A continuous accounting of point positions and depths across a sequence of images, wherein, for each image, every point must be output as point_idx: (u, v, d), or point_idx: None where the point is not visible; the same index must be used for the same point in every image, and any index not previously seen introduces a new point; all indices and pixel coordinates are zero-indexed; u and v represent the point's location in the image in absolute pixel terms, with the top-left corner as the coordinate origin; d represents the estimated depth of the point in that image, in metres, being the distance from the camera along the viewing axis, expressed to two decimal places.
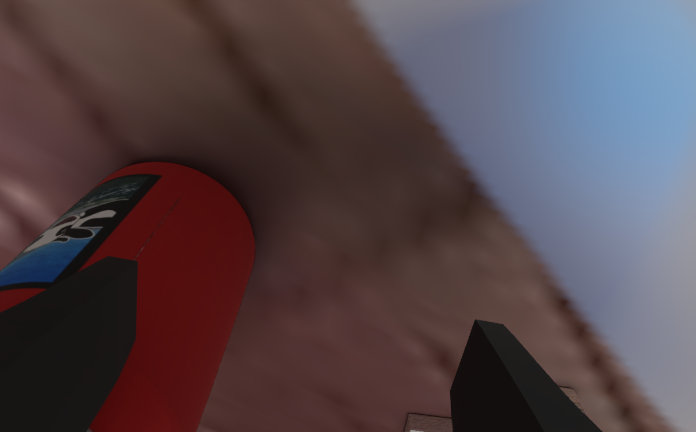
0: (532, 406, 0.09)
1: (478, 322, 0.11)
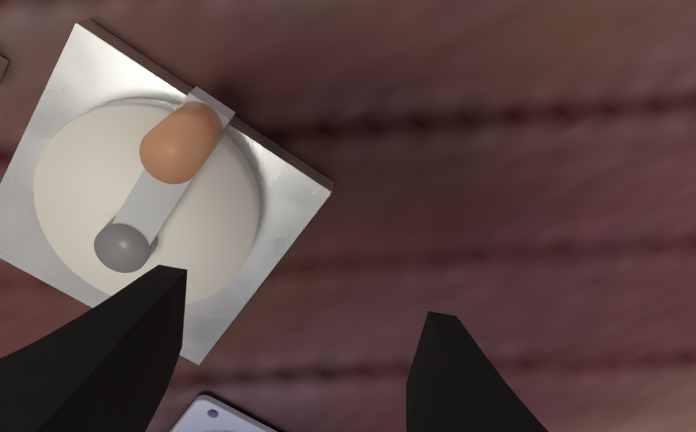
0: (470, 396, 0.09)
1: (430, 314, 0.11)
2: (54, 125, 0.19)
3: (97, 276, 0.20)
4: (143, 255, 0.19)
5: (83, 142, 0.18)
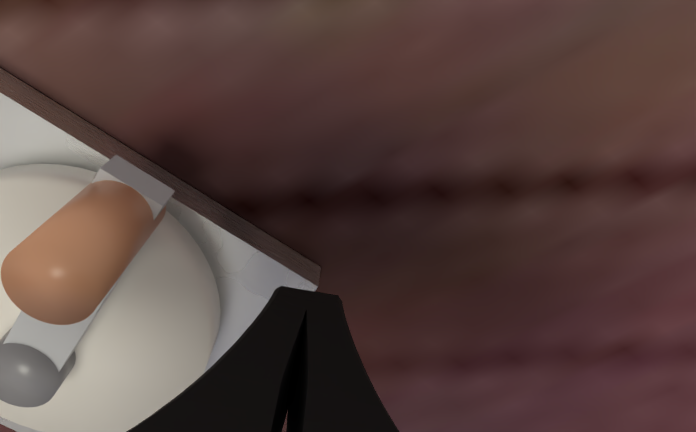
0: (311, 369, 0.09)
1: (309, 293, 0.11)
2: None
3: None
4: (50, 385, 0.13)
5: None
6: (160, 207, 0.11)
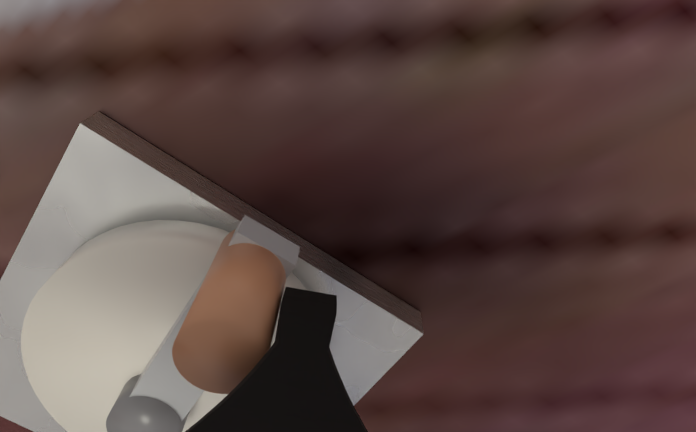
0: (279, 364, 0.09)
1: (285, 289, 0.11)
2: (50, 252, 0.14)
3: None
4: None
5: (87, 289, 0.13)
6: (293, 266, 0.12)
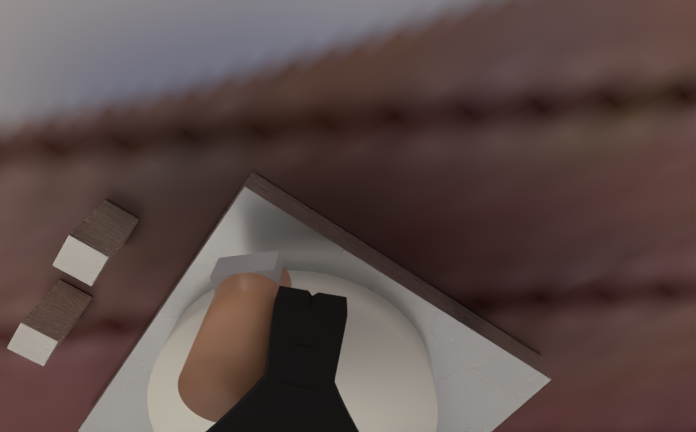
0: (271, 363, 0.09)
1: (279, 288, 0.11)
2: None
3: None
4: None
5: (176, 393, 0.14)
6: (274, 271, 0.12)
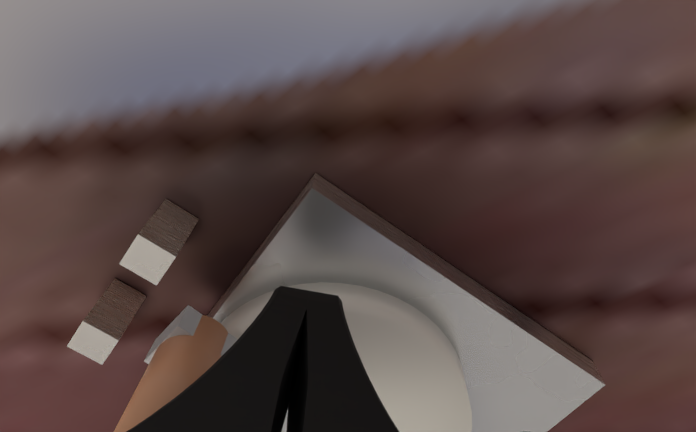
0: (311, 369, 0.09)
1: (309, 293, 0.11)
2: None
3: None
4: None
5: None
6: (180, 327, 0.13)
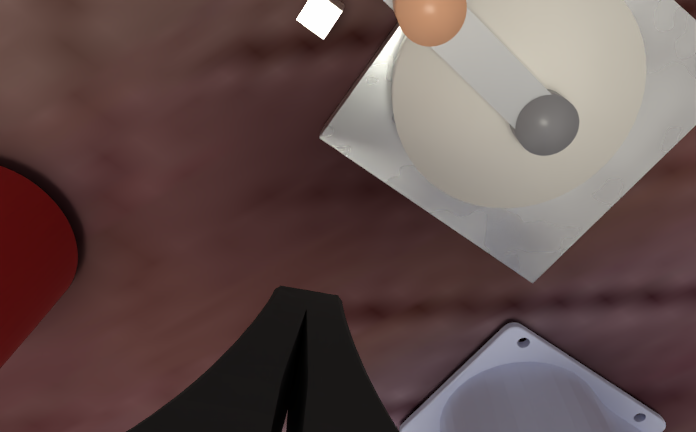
0: (311, 369, 0.09)
1: (309, 293, 0.11)
2: None
3: (577, 170, 0.18)
4: (561, 102, 0.16)
5: (423, 136, 0.18)
6: None
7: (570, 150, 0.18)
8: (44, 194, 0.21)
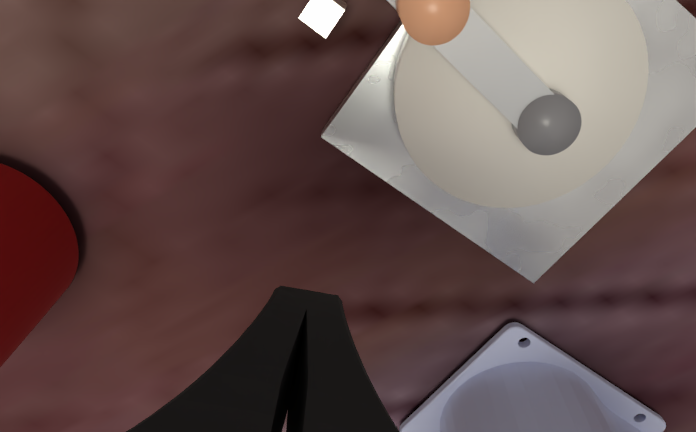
0: (311, 369, 0.09)
1: (309, 293, 0.11)
2: None
3: (579, 170, 0.18)
4: (563, 102, 0.16)
5: (425, 135, 0.18)
6: None
7: (572, 150, 0.18)
8: (45, 192, 0.21)
